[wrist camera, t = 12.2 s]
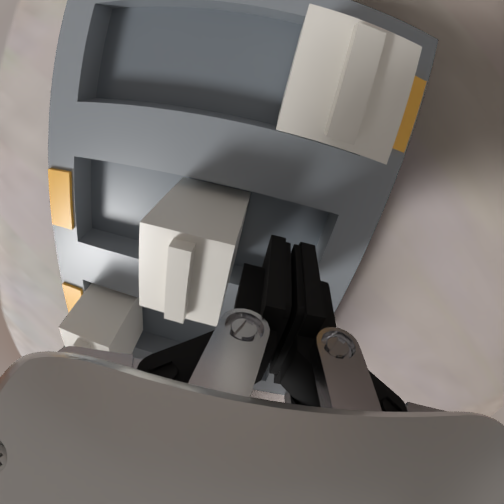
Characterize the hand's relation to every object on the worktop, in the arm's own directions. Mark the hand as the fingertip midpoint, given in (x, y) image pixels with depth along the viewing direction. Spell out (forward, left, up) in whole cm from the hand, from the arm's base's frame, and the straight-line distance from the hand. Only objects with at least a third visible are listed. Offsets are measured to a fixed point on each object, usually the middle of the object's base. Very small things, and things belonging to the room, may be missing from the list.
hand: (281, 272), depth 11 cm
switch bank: (0, -4, -4) cm, 6 cm away
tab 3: (-7, 0, -2) cm, 8 cm away
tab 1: (+7, -8, -3) cm, 11 cm away
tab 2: (0, -3, -3) cm, 4 cm away
